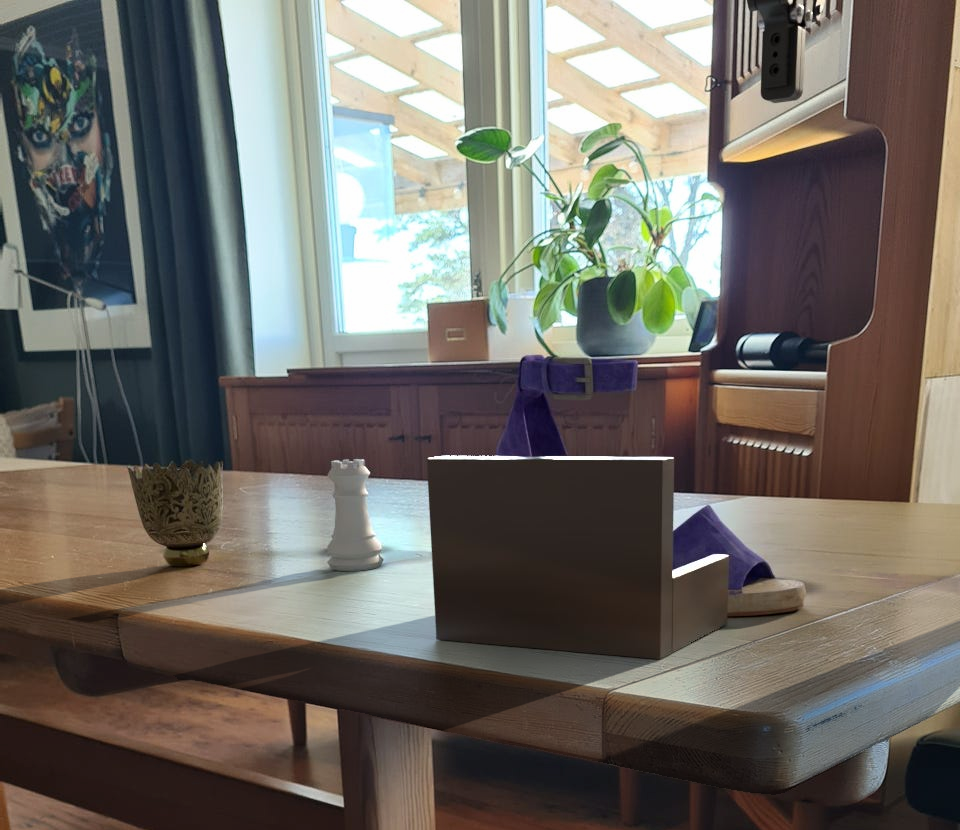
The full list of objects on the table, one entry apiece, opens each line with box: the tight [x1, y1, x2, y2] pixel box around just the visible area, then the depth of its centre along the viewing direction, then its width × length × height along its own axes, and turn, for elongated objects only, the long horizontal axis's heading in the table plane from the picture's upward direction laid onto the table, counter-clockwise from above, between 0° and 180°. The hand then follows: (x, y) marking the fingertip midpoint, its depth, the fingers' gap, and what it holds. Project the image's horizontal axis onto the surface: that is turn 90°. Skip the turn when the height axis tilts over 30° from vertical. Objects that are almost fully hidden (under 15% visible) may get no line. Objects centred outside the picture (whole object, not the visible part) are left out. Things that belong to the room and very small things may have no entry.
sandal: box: [495, 354, 807, 617], centre depth 79 cm, size 8×20×15 cm, turn 57°
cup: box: [126, 458, 224, 567], centre depth 104 cm, size 8×7×8 cm
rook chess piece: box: [326, 458, 385, 572], centre depth 99 cm, size 4×4×8 cm
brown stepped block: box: [426, 455, 729, 660], centre depth 72 cm, size 10×14×10 cm
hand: (781, 99), depth 79 cm, fingers closed
